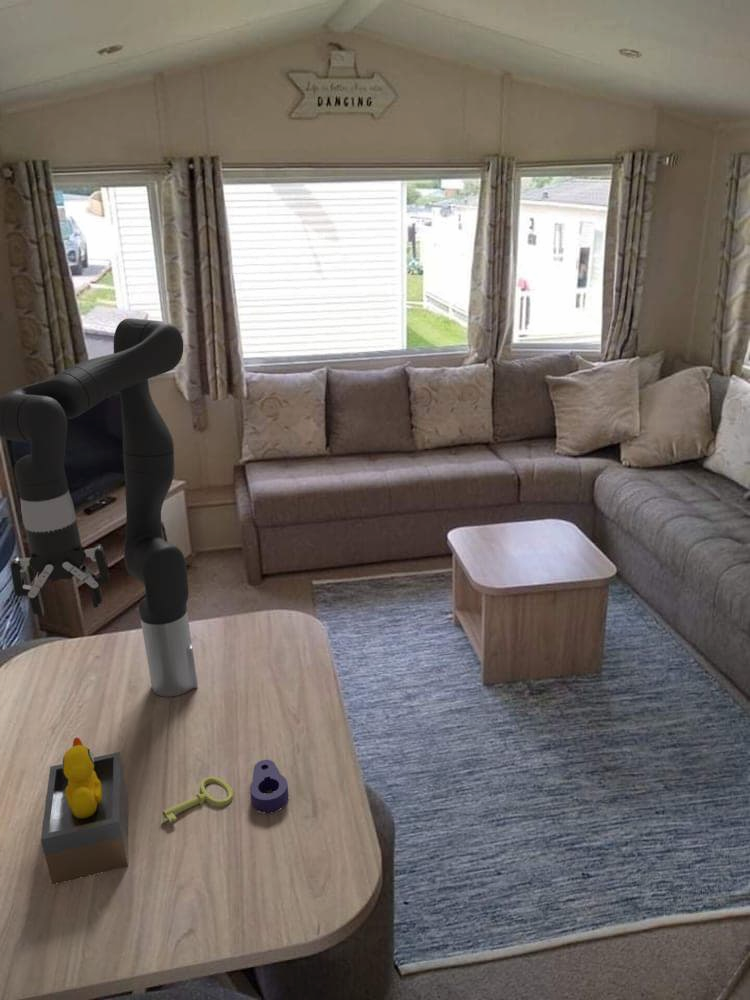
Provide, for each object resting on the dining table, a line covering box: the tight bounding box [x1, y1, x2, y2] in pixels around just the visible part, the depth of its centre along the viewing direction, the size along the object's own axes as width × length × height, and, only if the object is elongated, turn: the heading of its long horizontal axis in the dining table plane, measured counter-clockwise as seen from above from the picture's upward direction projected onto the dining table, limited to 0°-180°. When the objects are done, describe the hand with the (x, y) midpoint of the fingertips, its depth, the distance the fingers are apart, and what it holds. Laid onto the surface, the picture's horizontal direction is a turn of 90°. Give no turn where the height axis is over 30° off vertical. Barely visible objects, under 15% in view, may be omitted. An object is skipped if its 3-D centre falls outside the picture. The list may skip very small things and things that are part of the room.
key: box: [162, 776, 235, 823], centre depth 129 cm, size 7×12×2 cm, turn 147°
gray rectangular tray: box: [40, 751, 129, 886], centre depth 122 cm, size 11×16×9 cm
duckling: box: [61, 737, 102, 819], centre depth 120 cm, size 11×5×10 cm, turn 21°
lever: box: [249, 759, 289, 814], centre depth 133 cm, size 12×6×3 cm, turn 14°
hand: (69, 609), depth 126 cm, fingers open, 8 cm apart
